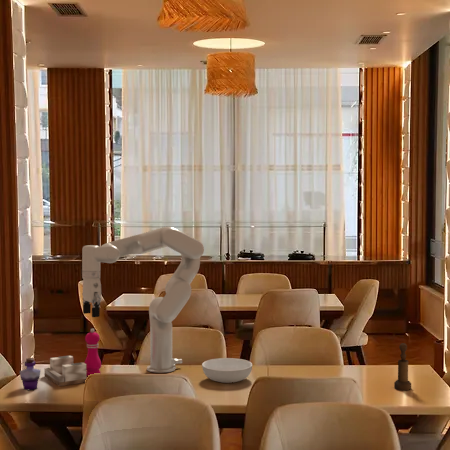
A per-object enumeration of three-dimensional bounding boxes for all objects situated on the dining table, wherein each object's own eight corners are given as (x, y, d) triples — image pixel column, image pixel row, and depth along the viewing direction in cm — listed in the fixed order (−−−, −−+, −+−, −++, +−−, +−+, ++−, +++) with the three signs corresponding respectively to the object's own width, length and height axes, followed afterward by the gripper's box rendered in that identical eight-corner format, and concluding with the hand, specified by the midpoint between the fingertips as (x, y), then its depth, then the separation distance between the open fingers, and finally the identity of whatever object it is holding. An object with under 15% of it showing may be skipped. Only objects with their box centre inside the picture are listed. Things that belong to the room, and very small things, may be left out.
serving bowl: (193, 383, 313) (193, 366, 312) (215, 371, 332) (215, 356, 331) (240, 389, 304) (240, 372, 304) (260, 377, 323) (260, 360, 323)
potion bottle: (24, 385, 311) (24, 355, 310) (45, 385, 309) (44, 356, 308) (15, 390, 302) (14, 360, 301) (36, 391, 301) (35, 361, 300)
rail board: (71, 372, 330) (71, 354, 330) (87, 381, 315) (87, 363, 315) (44, 376, 324) (44, 358, 323) (59, 386, 309) (59, 367, 308)
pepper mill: (97, 377, 322) (97, 330, 320) (81, 377, 323) (81, 329, 322) (104, 373, 329) (103, 327, 327) (88, 372, 330) (87, 326, 329)
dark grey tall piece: (413, 387, 306) (414, 342, 305) (408, 391, 300) (409, 345, 299) (397, 385, 309) (397, 341, 308) (392, 389, 304) (392, 344, 303)
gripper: (107, 276, 318) (107, 317, 319) (91, 272, 333) (91, 311, 334) (90, 277, 314) (90, 319, 315) (75, 273, 329) (75, 312, 330)
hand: (91, 315), depth 324 cm, fingers open, 9 cm apart
